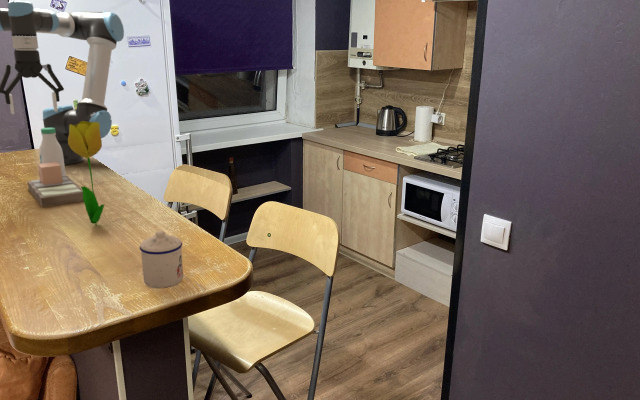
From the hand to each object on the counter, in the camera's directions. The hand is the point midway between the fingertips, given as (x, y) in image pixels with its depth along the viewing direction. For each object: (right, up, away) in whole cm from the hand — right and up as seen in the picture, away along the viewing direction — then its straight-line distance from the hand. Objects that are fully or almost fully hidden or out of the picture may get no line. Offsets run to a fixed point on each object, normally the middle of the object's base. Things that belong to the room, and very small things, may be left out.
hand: (34, 112), depth 188 cm
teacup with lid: (+64, -49, -65) cm, 104 cm away
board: (+11, -29, -6) cm, 32 cm away
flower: (+36, -38, -34) cm, 62 cm away
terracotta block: (+7, -24, -3) cm, 26 cm away
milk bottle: (+3, -25, +8) cm, 26 cm away
